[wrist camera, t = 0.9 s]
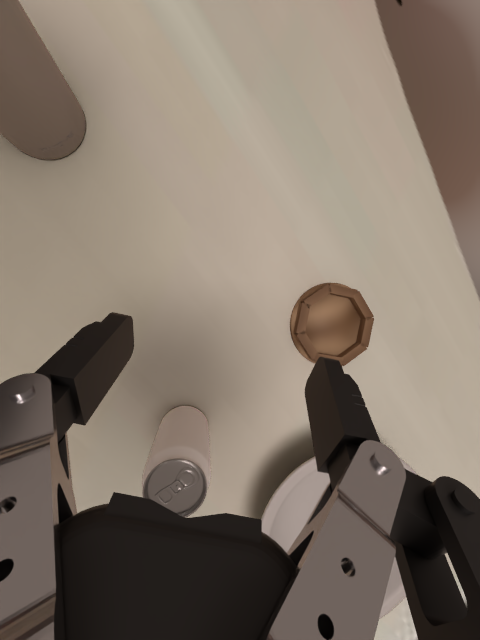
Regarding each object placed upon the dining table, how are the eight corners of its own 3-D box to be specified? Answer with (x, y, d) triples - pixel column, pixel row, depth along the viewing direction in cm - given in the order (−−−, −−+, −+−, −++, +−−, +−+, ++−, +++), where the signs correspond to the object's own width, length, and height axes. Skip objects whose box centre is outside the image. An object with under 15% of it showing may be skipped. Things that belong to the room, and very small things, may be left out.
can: (217, 429, 35) (226, 491, 23) (180, 460, 34) (168, 540, 23) (188, 394, 34) (182, 439, 22) (149, 425, 34) (121, 488, 22)
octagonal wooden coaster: (274, 313, 36) (278, 313, 34) (341, 267, 37) (348, 265, 35) (318, 381, 37) (323, 385, 35) (381, 335, 38) (389, 336, 36)
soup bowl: (211, 519, 36) (213, 566, 29) (322, 390, 37) (348, 407, 31) (326, 608, 39) (351, 668, 32) (424, 486, 41) (466, 520, 34)
